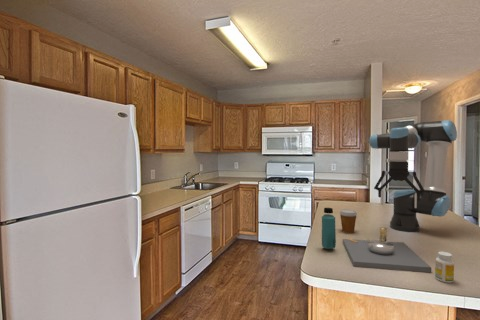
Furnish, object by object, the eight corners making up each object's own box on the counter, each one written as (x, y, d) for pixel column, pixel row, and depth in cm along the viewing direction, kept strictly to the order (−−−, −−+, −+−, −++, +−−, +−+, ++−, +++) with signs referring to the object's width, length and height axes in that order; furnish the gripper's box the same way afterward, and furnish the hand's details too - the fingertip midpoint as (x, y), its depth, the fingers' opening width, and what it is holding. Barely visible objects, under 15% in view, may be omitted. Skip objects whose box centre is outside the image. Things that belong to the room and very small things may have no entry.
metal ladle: (393, 256, 111) (393, 240, 110) (366, 251, 116) (367, 236, 116) (395, 243, 126) (395, 228, 126) (372, 239, 132) (372, 225, 132)
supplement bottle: (434, 279, 95) (434, 253, 95) (436, 274, 99) (436, 249, 99) (453, 284, 92) (453, 257, 91) (454, 279, 96) (454, 253, 95)
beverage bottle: (334, 253, 121) (334, 210, 120) (319, 250, 124) (319, 208, 124) (337, 248, 126) (337, 207, 126) (323, 246, 130) (323, 206, 129)
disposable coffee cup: (358, 234, 147) (358, 213, 146) (340, 233, 149) (340, 212, 148) (354, 229, 156) (355, 209, 156) (338, 228, 158) (338, 208, 158)
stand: (403, 246, 128) (403, 241, 128) (431, 272, 101) (431, 266, 101) (342, 242, 134) (342, 238, 134) (353, 266, 107) (353, 260, 107)
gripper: (431, 160, 119) (430, 207, 120) (370, 160, 133) (370, 201, 134) (432, 161, 113) (431, 210, 114) (368, 160, 127) (367, 204, 127)
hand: (398, 205), depth 124 cm, fingers open, 13 cm apart
